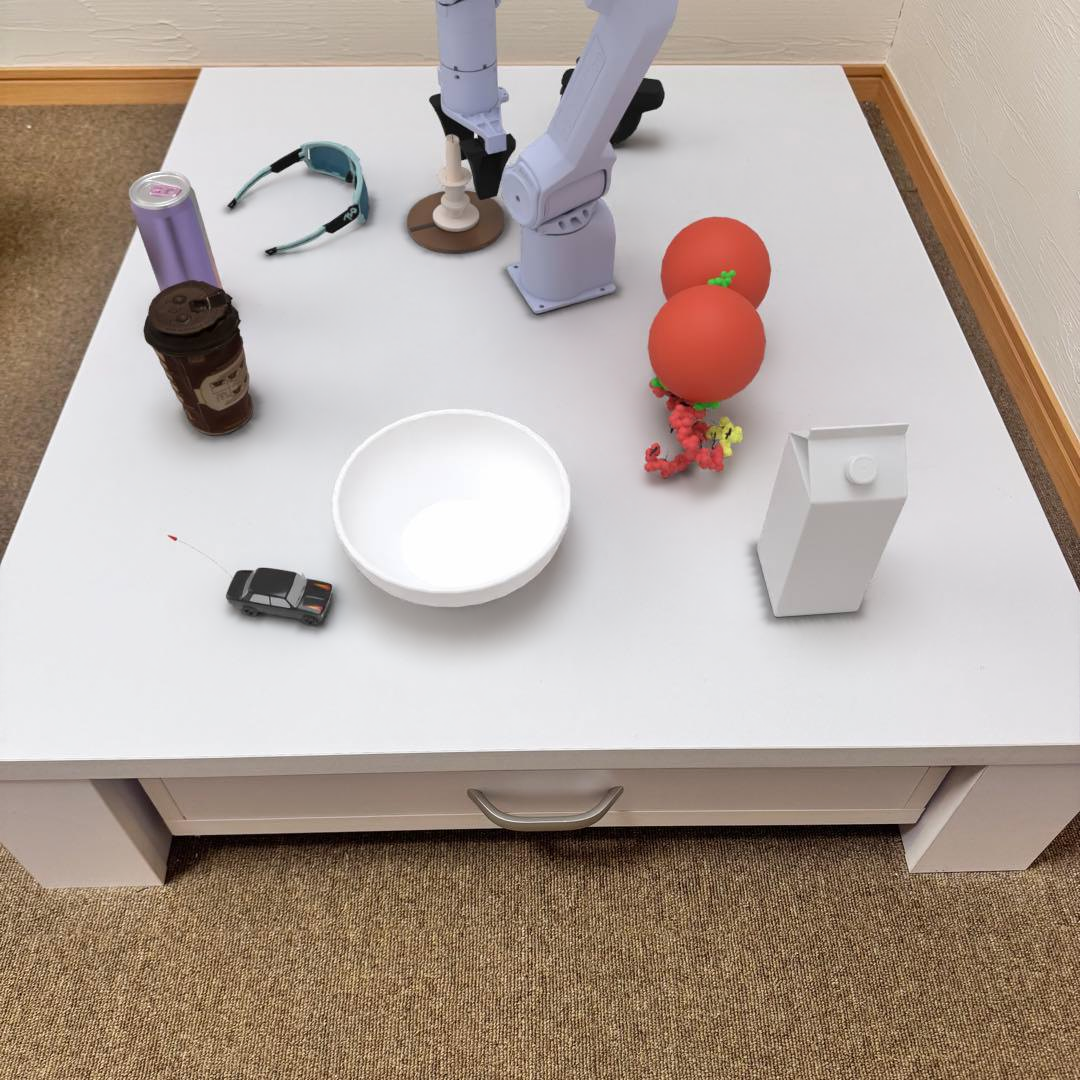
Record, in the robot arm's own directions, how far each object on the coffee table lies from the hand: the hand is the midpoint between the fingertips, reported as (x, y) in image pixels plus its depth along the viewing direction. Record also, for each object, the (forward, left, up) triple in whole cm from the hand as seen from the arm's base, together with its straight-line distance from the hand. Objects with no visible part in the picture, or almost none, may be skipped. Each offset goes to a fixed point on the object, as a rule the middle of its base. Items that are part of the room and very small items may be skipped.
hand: (474, 177), depth 117 cm
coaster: (+3, 0, -5) cm, 6 cm away
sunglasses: (+18, -9, -6) cm, 20 cm away
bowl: (+19, +43, -6) cm, 47 cm away
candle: (+2, 0, -5) cm, 5 cm away
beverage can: (+33, +4, -6) cm, 33 cm away
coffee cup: (+34, +19, -6) cm, 39 cm away
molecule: (-9, +35, -6) cm, 37 cm away
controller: (-20, -8, -6) cm, 23 cm away
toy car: (+35, +42, -6) cm, 55 cm away
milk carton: (-7, +58, -6) cm, 59 cm away
